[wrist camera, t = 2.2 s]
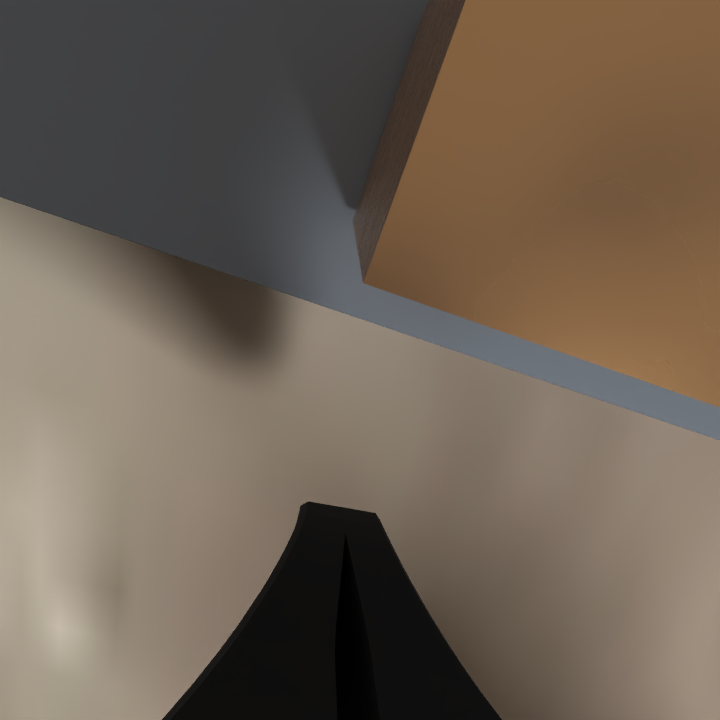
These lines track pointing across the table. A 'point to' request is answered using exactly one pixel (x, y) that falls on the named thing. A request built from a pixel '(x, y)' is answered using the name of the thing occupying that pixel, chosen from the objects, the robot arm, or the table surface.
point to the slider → (560, 180)
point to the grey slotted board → (243, 152)
